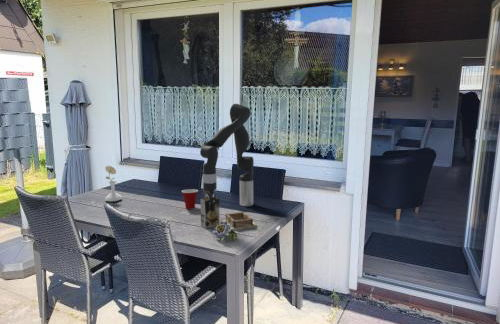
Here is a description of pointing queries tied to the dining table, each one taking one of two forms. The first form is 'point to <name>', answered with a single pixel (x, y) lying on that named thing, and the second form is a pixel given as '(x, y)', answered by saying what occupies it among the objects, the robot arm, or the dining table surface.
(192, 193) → the plastic cup
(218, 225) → the passion flower
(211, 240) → the dining table surface
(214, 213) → the coffee box
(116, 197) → the flower in vase
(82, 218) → the dining table surface
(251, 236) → the dining table surface
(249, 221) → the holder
